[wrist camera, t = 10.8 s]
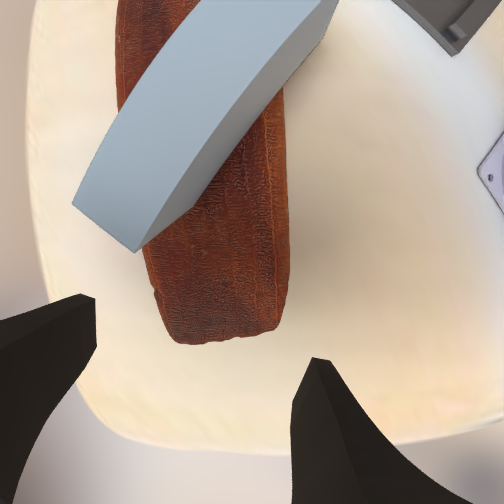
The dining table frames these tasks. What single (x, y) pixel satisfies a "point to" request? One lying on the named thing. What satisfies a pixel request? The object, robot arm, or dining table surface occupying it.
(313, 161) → the dining table surface
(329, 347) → the dining table surface
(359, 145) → the dining table surface
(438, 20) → the metal plate
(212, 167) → the pale blue upright panel
